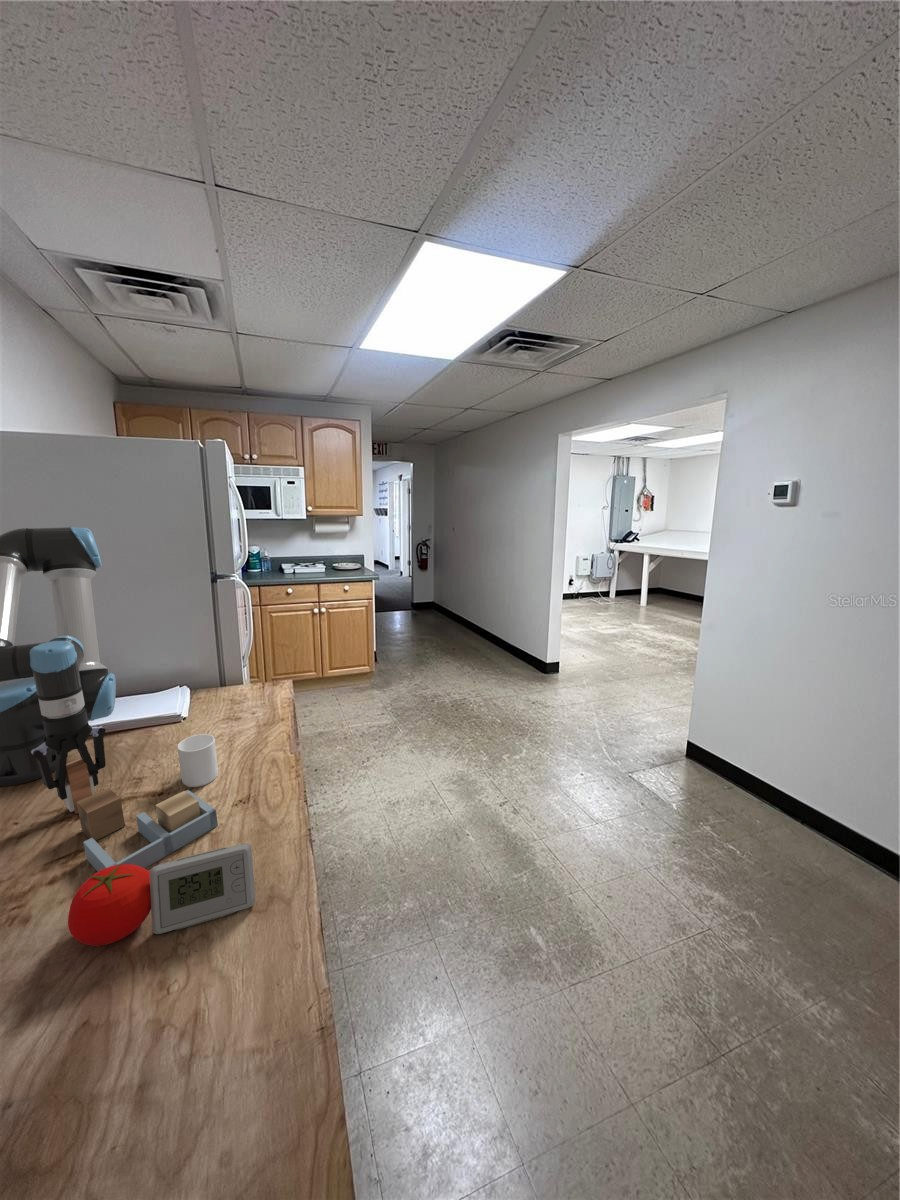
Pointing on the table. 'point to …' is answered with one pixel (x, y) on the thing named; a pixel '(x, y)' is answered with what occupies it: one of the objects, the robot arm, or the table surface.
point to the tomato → (110, 905)
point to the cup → (198, 760)
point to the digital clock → (201, 887)
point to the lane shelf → (155, 839)
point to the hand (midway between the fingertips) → (81, 803)
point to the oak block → (177, 811)
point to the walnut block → (93, 803)
